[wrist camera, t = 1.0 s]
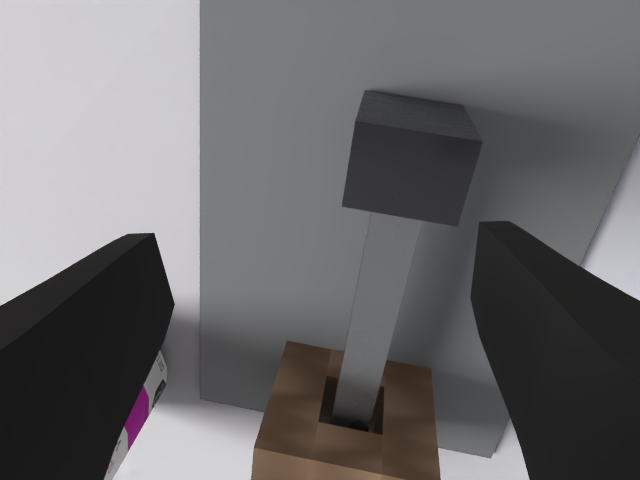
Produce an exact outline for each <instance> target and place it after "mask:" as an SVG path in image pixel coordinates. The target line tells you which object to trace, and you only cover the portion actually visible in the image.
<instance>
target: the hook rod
mask: <svg viewBox="0 0 640 480" xmlns="http://www.w3.org/2000/svg"><path fill="white" fill-rule="evenodd" d="M482 144H483V140H482V138H481V137H480V135H479V133H478V131H477V129H476V127H475V126H474V124H473V122H472V120H471V118H470V116H469V114H468V113H467V111H466V109H465V107H464V105H458V104H452V103H446V102H439V101H433V100H426V99H420V98H414V97H407V96H401V95H394V94H388V93H382V92H375V91H369V90H365V91H364V94H363V97H362V101H361V104H360V107H359V110H358V114H357V117H356V120H355V126H354V132H353V138H352V144H351V151H350V157H349V163H348V169H347V176H346V182H345V188H344V194H343V200H342V207H346V208H352V209H358V210H363V211H369V212H371V213H370V218H369V223H368V228H367V233H366V239H365V244H364V249H363V254H362V259H361V264H360V270H359V275H358V280H357V285H356V290H355V295H354V300H353V306H352V311H351V316H350V321H349V326H348V331H347V336H346V342H345V347H344V352H343V357H342V362H341V367H340V372H339V378H338V383H337V388H336V393H335V398H334V403H333V408H332V414H331V419H330V424H331V425H336V426H341V427H345V428H350V429H355V430H360V431H365V432H368V430H369V426H370V422H371V418H372V414H373V410H374V406H375V402H376V398H377V394H378V391H379V387H380V383H381V379H382V375H383V371H384V367H385V363H386V359H387V355H388V351H389V347H390V344H391V340H392V336H393V332H394V328H395V324H396V320H397V316H398V312H399V308H400V304H401V300H402V296H403V293H404V289H405V285H406V281H407V277H408V273H409V269H410V265H411V261H412V257H413V253H414V249H415V246H416V242H417V238H418V234H419V230H420V226H421V222H422V221H427V222H433V223H438V224H444V225H450V226H456V227H458V224H459V221H460V217H461V214H462V211H463V207H464V204H465V200H466V197H467V194H468V190H469V187H470V184H471V180H472V177H473V174H474V170H475V167H476V164H477V160H478V157H479V154H480V150H481V147H482Z"/></svg>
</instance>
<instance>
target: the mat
mask: <svg viewBox="0 0 640 480" xmlns="http://www.w3.org/2000/svg"><path fill="white" fill-rule="evenodd" d="M365 90H369V91H375V92H382V93H388V94H394V95H401V96H407V97H414V98H420V99H426V100H433V101H439V102H446V103H452V104H458V105H464V107H465V109H466V111H467V113H468V114H469V116H470V118H471V120H472V122H473V124H474V126H475V127H476V129H477V131H478V133H479V135H480V137H481V138H482V140H483V144H482V147H481V150H480V154H479V157H478V160H477V164H476V167H475V170H474V174H473V177H472V180H471V184H470V187H469V190H468V194H467V197H466V200H465V204H464V207H463V211H462V214H461V217H460V221H459V224H458V227H456V226H450V225H444V224H438V223H433V222H427V221H422V222H421V226H420V230H419V234H418V238H417V242H416V246H415V249H414V253H413V257H412V261H411V265H410V269H409V273H408V277H407V281H406V285H405V289H404V293H403V296H402V300H401V304H400V308H399V312H398V316H397V320H396V324H395V328H394V332H393V336H392V340H391V344H390V347H389V351H388V355H387V359H386V360H390V361H395V362H400V363H405V364H410V365H415V366H421V367H426V368H431V375H432V387H433V398H434V410H435V422H436V433H437V445H438V448H443V449H447V450H452V451H457V452H462V453H467V454H472V455H477V456H482V457H487V458H491V457H492V455H493V452H494V450H495V448H496V446H497V444H498V441H499V439H500V437H501V435H502V433H503V431H504V428H505V426H506V424H507V422H508V420H509V418H510V415H509V413H508V410H507V408H506V405H505V402H504V400H503V397H502V395H501V392H500V390H499V387H498V385H497V382H496V379H495V377H494V374H493V372H492V369H491V367H490V364H489V361H488V359H487V356H486V353H485V351H484V348H483V345H482V343H481V340H480V337H479V334H478V330H477V325H476V321H475V317H474V313H473V308H472V303H471V299H470V295H471V287H472V278H473V270H474V261H475V253H476V244H477V236H478V227H479V222H484V221H510V222H512V223H514V224H515V225H517V226H519V227H520V228H522V229H524V230H525V231H527V232H528V233H530V234H531V235H533V236H534V237H536V238H537V239H539V240H540V241H542V242H543V243H545V244H546V245H548V246H549V247H551V248H552V249H554V250H555V251H557V252H558V253H560V254H561V255H563V256H564V257H566V258H567V259H569V260H570V261H572V262H574V263H575V264H577V265H578V266H579V265H580V263H581V261H582V259H583V257H584V255H585V252H586V250H587V248H588V246H589V244H590V242H591V239H592V237H593V235H594V233H595V231H596V229H597V226H598V224H599V222H600V220H601V218H602V215H603V213H604V211H605V209H606V207H607V205H608V202H609V200H610V198H611V196H612V194H613V192H614V189H615V187H616V185H617V183H618V181H619V179H620V176H621V174H622V172H623V170H624V168H625V165H626V163H627V161H628V159H629V157H630V155H631V152H632V150H633V148H634V146H635V144H636V142H637V139H638V137H639V135H640V0H200V399H202V400H207V401H212V402H217V403H222V404H227V405H232V406H237V407H242V408H246V409H251V410H256V411H261V412H265V410H266V407H267V404H268V401H269V397H270V394H271V391H272V388H273V384H274V381H275V378H276V375H277V371H278V368H279V365H280V362H281V358H282V355H283V352H284V349H285V346H286V342H287V341H291V342H297V343H302V344H307V345H312V346H317V347H322V348H328V349H333V350H338V351H343V352H344V347H345V342H346V336H347V331H348V326H349V321H350V316H351V311H352V306H353V300H354V295H355V290H356V285H357V280H358V275H359V270H360V264H361V259H362V254H363V249H364V244H365V239H366V233H367V228H368V223H369V218H370V213H371V212H369V211H363V210H358V209H352V208H346V207H342V200H343V194H344V188H345V182H346V176H347V169H348V163H349V157H350V151H351V144H352V138H353V132H354V126H355V120H356V117H357V114H358V110H359V107H360V104H361V101H362V97H363V94H364V91H365Z"/></svg>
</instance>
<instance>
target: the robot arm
mask: <svg viewBox="0 0 640 480" xmlns="http://www.w3.org/2000/svg"><path fill="white" fill-rule="evenodd" d="M470 299H471V303H472V308H473V313H474V317H475V321H476V325H477V330H478V334H479V337H480V340H481V343H482V345H483V348H484V351H485V353H486V356H487V359H488V361H489V364H490V367H491V369H492V372H493V374H494V377H495V379H496V382H497V385H498V387H499V390H500V392H501V395H502V397H503V400H504V402H505V405H506V408H507V410H508V413H509V415H510V418H511V420H512V423H513V426H514V428H515V431H516V434H517V437H518V440H519V443H520V446H521V449H522V453H523V457H524V460H525V464H526V468H527V471H528V475H529V479H530V480H640V301H639V300H637V299H635V298H634V297H632V296H630V295H628V294H626V293H624V292H623V291H621V290H619V289H617V288H616V287H614V286H612V285H610V284H608V283H607V282H605V281H603V280H601V279H600V278H598V277H596V276H595V275H593V274H591V273H590V272H588V271H586V270H585V269H583V268H582V267H580V266H578V265H577V264H575V263H574V262H572V261H570V260H569V259H567V258H566V257H564V256H563V255H561V254H560V253H558V252H557V251H555V250H554V249H552V248H551V247H549V246H548V245H546V244H545V243H543V242H542V241H540V240H539V239H537V238H536V237H534V236H533V235H531V234H530V233H528V232H527V231H525V230H524V229H522V228H520V227H519V226H517V225H515V224H514V223H512V222H510V221H484V222H479V227H478V236H477V244H476V253H475V261H474V270H473V278H472V287H471V295H470ZM174 305H175V304H174V300H173V297H172V293H171V290H170V286H169V283H168V279H167V276H166V272H165V269H164V265H163V262H162V258H161V255H160V251H159V248H158V244H157V241H156V238H155V234H154V233H139V234H127V235H125V236H122V237H120V238H118V239H116V240H114V241H112V242H111V243H109V244H107V245H105V246H103V247H102V248H100V249H98V250H97V251H95V252H93V253H91V254H90V255H88V256H86V257H85V258H83V259H81V260H80V261H78V262H76V263H75V264H73V265H71V266H70V267H68V268H66V269H65V270H63V271H61V272H60V273H58V274H56V275H55V276H53V277H51V278H50V279H48V280H46V281H44V282H43V283H41V284H39V285H37V286H35V287H34V288H32V289H30V290H28V291H26V292H25V293H23V294H21V295H19V296H17V297H16V298H14V299H12V300H10V301H8V302H7V303H5V304H3V305H1V306H0V480H104V478H105V475H106V472H107V470H108V467H109V464H110V461H111V458H112V455H113V452H114V449H115V447H116V444H117V442H118V440H119V437H120V435H121V432H122V430H123V428H124V426H125V423H126V421H127V419H128V417H129V415H130V413H131V411H132V409H133V407H134V404H135V402H136V400H137V398H138V396H139V394H140V392H141V390H142V387H143V385H144V383H145V381H146V379H147V377H148V375H149V373H150V371H151V368H152V366H153V364H154V362H155V360H156V358H157V355H158V353H159V351H160V349H161V346H162V344H163V342H164V339H165V336H166V333H167V329H168V326H169V323H170V319H171V316H172V312H173V308H174Z"/></svg>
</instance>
